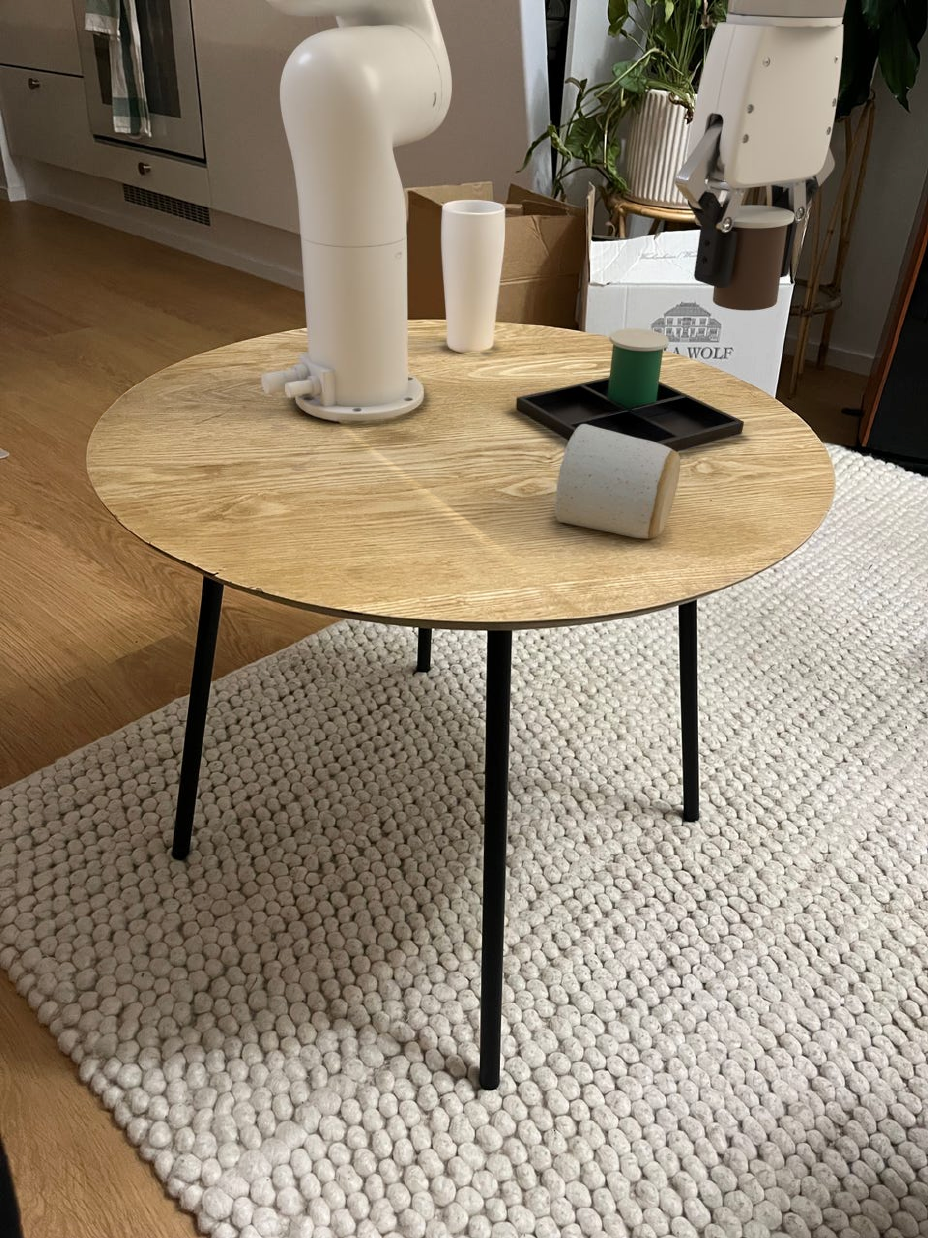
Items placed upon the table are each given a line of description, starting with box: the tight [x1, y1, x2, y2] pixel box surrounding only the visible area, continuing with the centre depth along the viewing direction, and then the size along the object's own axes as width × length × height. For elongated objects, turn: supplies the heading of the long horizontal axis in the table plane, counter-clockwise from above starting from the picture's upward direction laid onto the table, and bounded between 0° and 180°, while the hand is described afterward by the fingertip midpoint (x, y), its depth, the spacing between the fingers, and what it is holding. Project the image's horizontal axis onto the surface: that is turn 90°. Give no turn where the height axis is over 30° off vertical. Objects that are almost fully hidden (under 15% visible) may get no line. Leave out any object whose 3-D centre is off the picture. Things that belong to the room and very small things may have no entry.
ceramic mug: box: [554, 424, 682, 540], centre depth 77 cm, size 11×8×8 cm
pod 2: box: [712, 204, 794, 312], centre depth 75 cm, size 6×6×6 cm
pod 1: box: [607, 327, 670, 408], centre depth 97 cm, size 6×6×6 cm
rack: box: [515, 376, 745, 453], centre depth 94 cm, size 15×15×2 cm
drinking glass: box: [440, 199, 506, 354], centre depth 108 cm, size 7×7×15 cm
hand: (741, 275), depth 76 cm, fingers closed on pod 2, 5 cm apart
